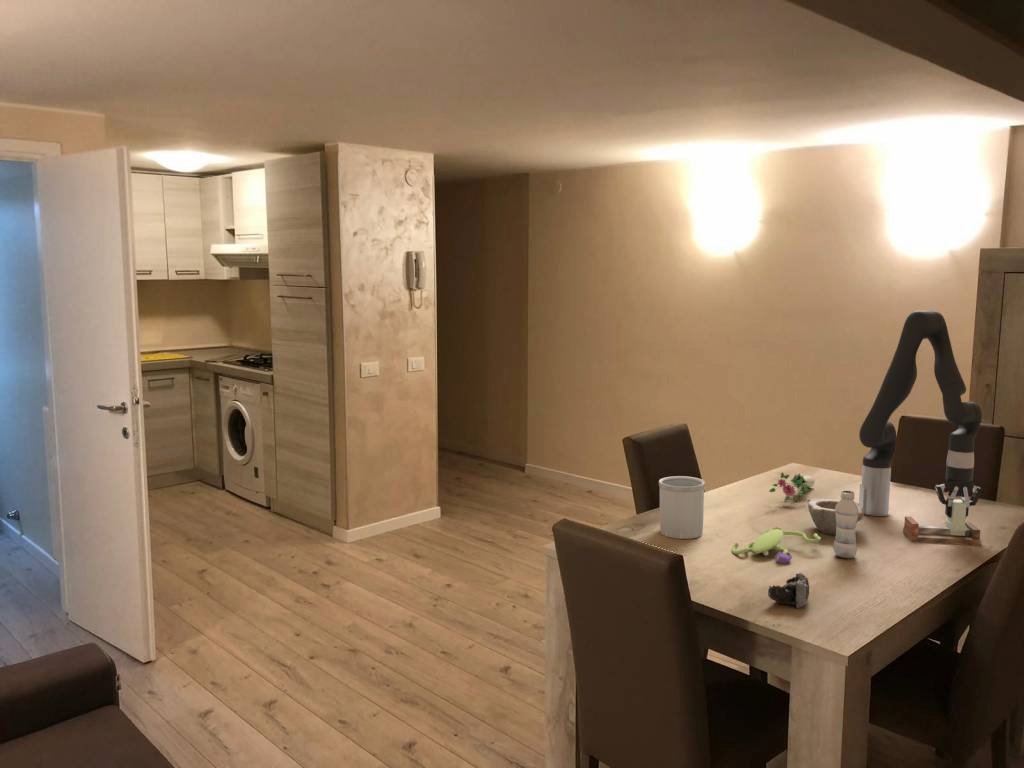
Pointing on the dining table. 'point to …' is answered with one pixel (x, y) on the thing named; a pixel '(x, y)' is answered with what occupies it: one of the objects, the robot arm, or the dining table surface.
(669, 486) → the utensil holder
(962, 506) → the slider
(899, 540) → the dining table surface
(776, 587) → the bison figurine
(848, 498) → the plastic bottle
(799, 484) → the flower vase
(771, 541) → the figurine
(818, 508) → the mortar
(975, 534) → the track
